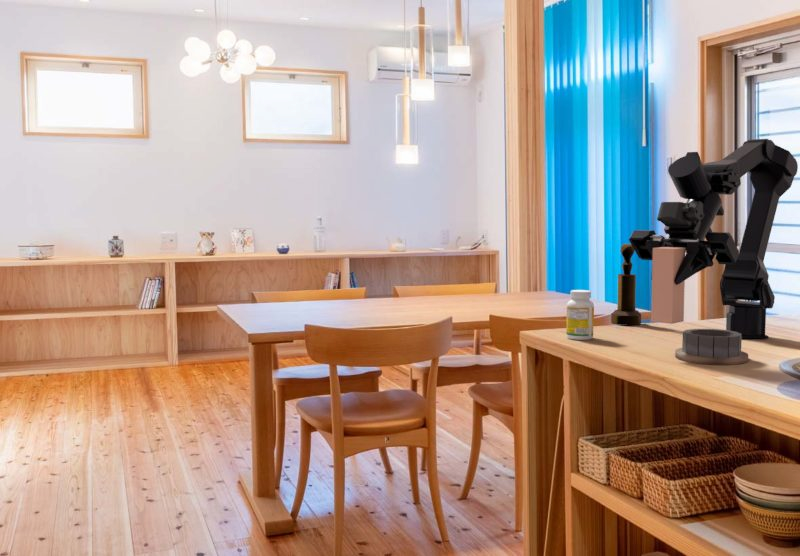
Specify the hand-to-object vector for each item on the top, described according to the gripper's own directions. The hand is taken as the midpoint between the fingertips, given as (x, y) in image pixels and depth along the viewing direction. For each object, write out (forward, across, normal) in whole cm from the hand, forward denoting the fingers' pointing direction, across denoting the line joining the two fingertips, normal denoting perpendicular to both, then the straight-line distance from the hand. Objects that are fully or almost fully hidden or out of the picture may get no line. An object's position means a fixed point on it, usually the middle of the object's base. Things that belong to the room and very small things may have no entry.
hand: (664, 282), depth 146 cm
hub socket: (+6, +6, +13) cm, 16 cm away
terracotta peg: (+4, 0, +6) cm, 7 cm away
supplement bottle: (+5, -22, +15) cm, 27 cm away
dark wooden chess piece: (-12, -27, +32) cm, 43 cm away
